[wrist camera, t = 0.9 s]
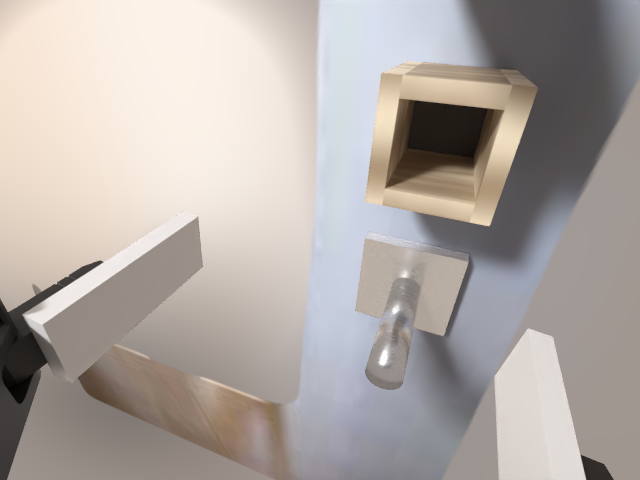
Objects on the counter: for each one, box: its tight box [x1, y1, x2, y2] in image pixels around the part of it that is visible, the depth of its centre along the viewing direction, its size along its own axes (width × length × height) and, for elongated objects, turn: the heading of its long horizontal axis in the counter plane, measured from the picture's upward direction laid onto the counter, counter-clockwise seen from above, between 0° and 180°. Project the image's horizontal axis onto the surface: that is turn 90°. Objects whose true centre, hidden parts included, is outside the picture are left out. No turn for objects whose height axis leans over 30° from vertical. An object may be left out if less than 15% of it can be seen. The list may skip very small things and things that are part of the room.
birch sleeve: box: [365, 61, 538, 226], centre depth 25 cm, size 8×8×10 cm
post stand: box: [355, 232, 469, 390], centre depth 32 cm, size 10×10×13 cm
